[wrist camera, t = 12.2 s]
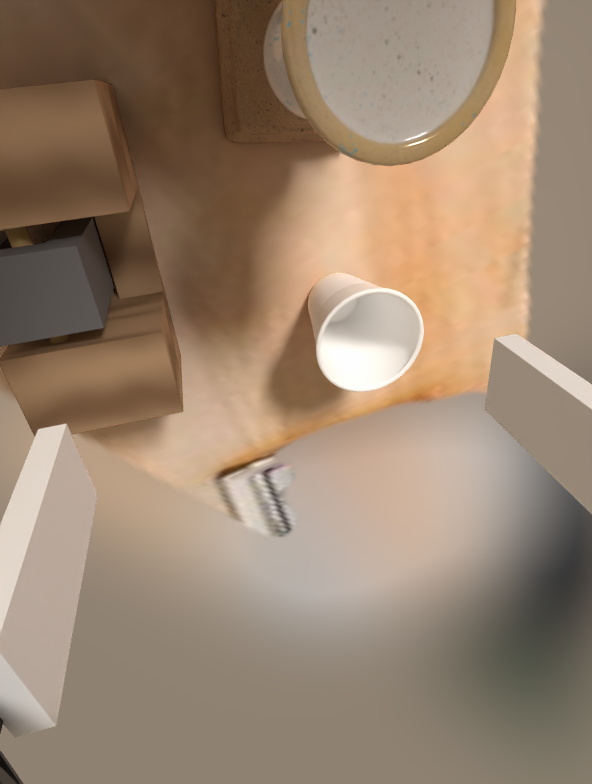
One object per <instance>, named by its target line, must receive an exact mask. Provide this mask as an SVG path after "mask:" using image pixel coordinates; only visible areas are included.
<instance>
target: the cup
mask: <svg viewBox="0 0 592 784" xmlns="http://www.w3.org/2000/svg"><path fill="white" fill-rule="evenodd" d="M308 310H309V315H310V319H311V324H312V328H313V333H314V338H315V342H316V358H317V362H318V365H319V367H320V369H321V371H322V373H323V375H324V376H325V377H326V378H327V379H328V380H329V381H330V382H331V383H333V384H334V385H336V386H337V387H339V388H342V389H344V390H348V391H353V392H367V391H373V390H377V389H379V388H382V387H385V386H387V385H389V384H390V383H392V382H394V381H395V380H397V379H398V378H399V377H401V376H402V375H403V374H404V373H405V372H406V371H407V370H408V369H409V368H410V366H411V365H412V364H413V362H414V361H415V359H416V357H417V355H418V353H419V351H420V348H421V345H422V341H423V333H424V328H423V320H422V317H421V314H420V312H419V310H418V308H417V307H416V305H415V304H414V302H412V301H411V300H410V299H409V298H408V297H407V296H406V295H404V294H402V293H400V292H398V291H395V290H391V289H388V288H381V287H379V286H376V285H374V284H371V283H369V282H366V281H364V280H361V279H359V278H357V277H354V276H352V275H349V274H345V273H333V274H330V275H327V276H325V277H323V278H322V279H321V280H319V281H318V282H317V283H316V284H315V286H314V287H313V288H312V290H311V292H310V295H309V298H308Z"/></svg>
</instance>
